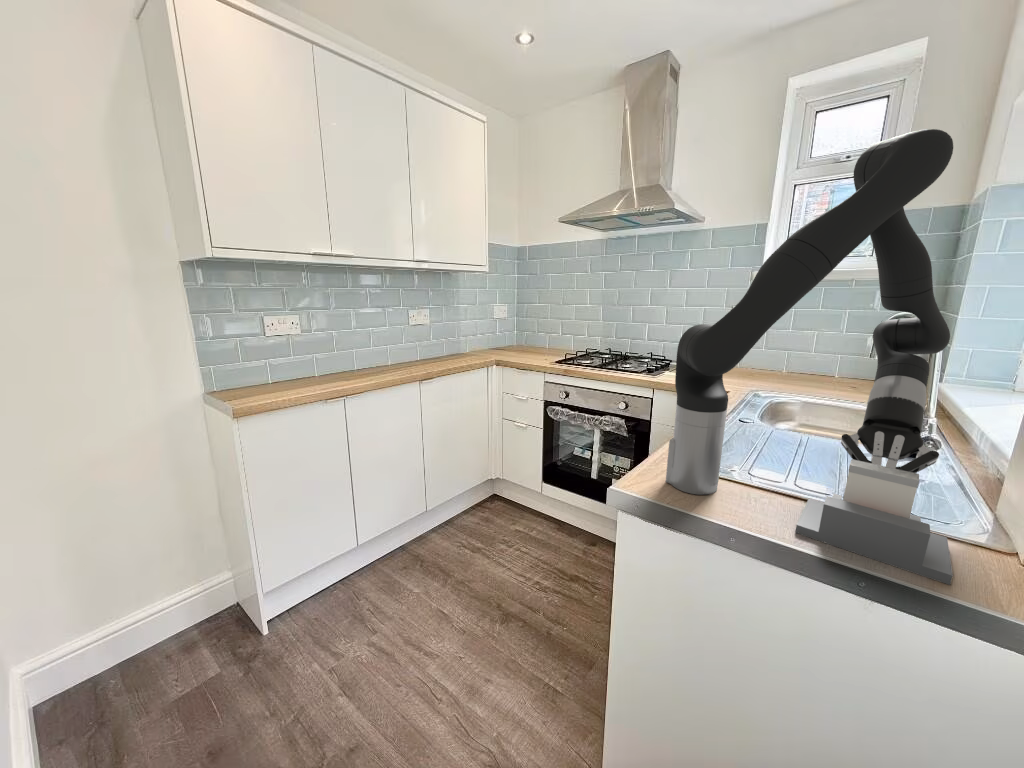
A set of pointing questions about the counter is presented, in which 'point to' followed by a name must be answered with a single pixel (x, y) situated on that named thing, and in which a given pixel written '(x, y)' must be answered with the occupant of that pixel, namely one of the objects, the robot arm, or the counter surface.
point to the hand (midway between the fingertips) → (877, 494)
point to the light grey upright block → (881, 488)
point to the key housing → (878, 536)
